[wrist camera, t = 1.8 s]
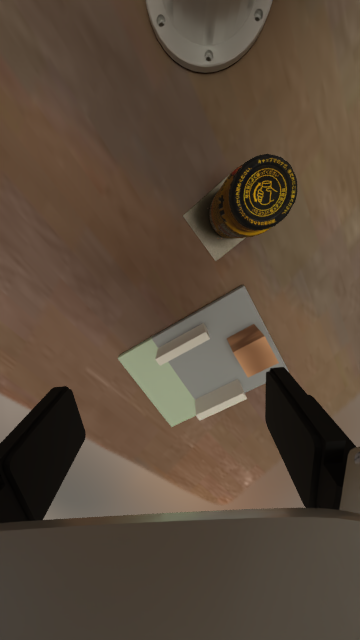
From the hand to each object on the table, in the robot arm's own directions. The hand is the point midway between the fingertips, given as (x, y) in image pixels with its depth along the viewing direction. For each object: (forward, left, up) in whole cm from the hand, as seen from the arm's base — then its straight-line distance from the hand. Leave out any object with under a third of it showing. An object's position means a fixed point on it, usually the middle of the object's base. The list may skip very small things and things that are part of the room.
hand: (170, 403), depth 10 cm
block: (-5, +11, -21) cm, 25 cm away
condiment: (-11, -6, -23) cm, 26 cm away
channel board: (+2, +11, -22) cm, 25 cm away
